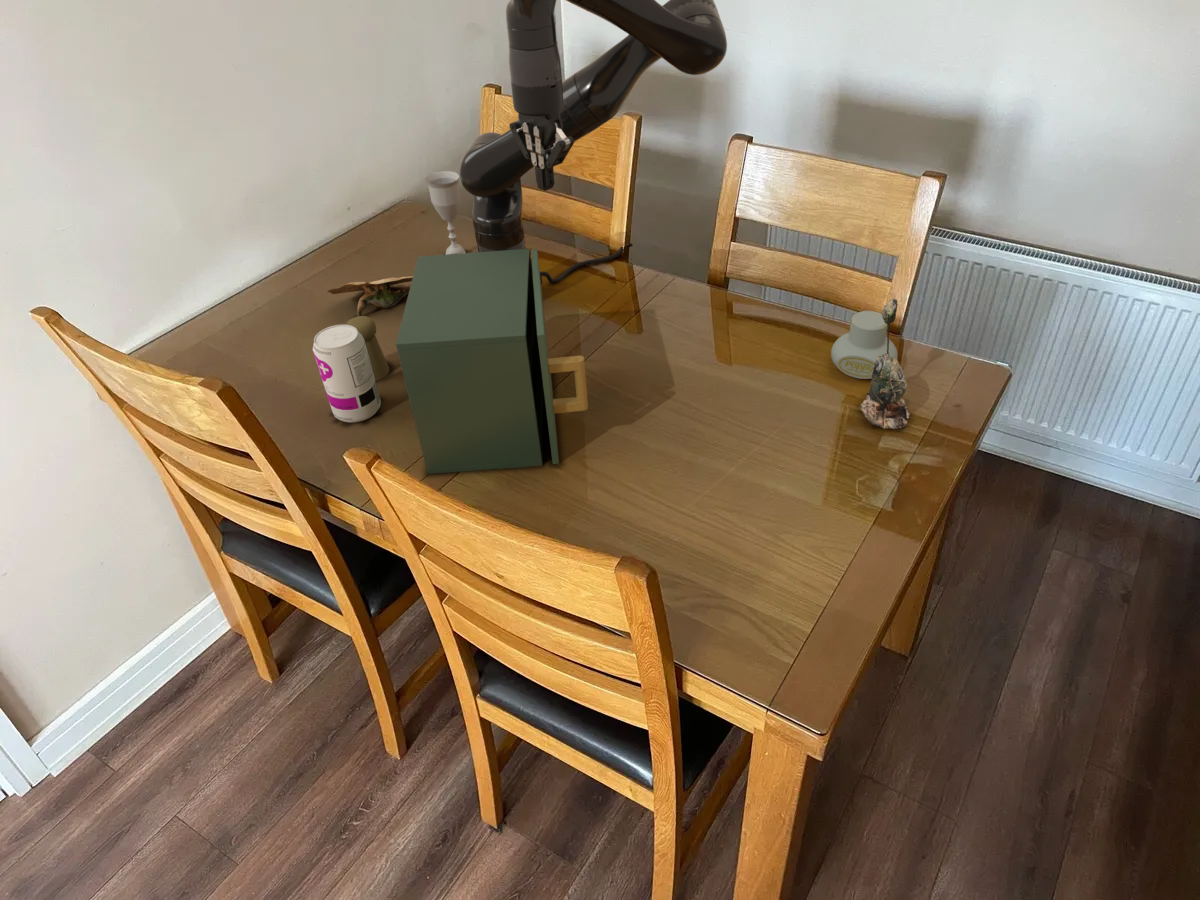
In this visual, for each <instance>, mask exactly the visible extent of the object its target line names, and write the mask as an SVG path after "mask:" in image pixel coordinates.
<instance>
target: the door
mask: <svg viewBox="0 0 1200 900" xmlns="http://www.w3.org/2000/svg"><path fill="white" fill-rule="evenodd" d="M530 257H531V260H532V271H533V285H534V298H535V312H536V326H537V338H538V346H539V355H540V363H541V371H542V379H543V397H544V404H545V413H546V419H547V427H548V429H547V430H548V438H549V444H550V445H549V446H550V453H551V461H552V465H559V464H560V458H559V448H558V437H557V424H556V414H564V413H573V412H585V411H587V410H588V409H589V402H588V389H587V378H586V377H587V376H586V366H585V365H586V364H585V357H584V356H583V355H572V356H571V355H569V356H561V357H550V353H549V345H548V343H549V342H548V334H547V325H546V316H545V315H546V314H545V308H544V297H543V289H542V285H541V279H540V272H541V271H540V263H539V253H538V248H532V249H530ZM567 372H573V374H574V384H575V386H574V387H575V395H576V396H572V397H564V398H563V397H562V398H561V397H560V398H554V393H553V391H554V390H553V382H552V381H553V379H552V374H557V373H567Z"/></svg>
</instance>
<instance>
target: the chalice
mask: <svg viewBox="0 0 1200 900" xmlns="http://www.w3.org/2000/svg"><path fill="white" fill-rule="evenodd" d="M459 180H460V174H459V173H457V172H455V171H451V170H443V171H435V172H432V173H430V174H427V175H426V176H425V177H424V181H425V183H426V184H427V185H428V191H429V196H430V201H431V204H432V205H433V207H434V209H435V210H436V212H437V214H438V215H439V216H440V218H441V219H442V220H443V221H446V222H447V230H448V232H449V235H448V238H449V240H450V244H449V246H448V247H447V248H446V250H445V255H447V254H461V253H467V252H466V250H465V249H464V247H463V246H462V245H461V244H458V243H457V241H456V238H457V234H455V228H456V227H455V226H454V224H453V221H454V220H455V219H456V218H457V215H458V212H459V209H460V205H461V193H460V187H459Z"/></svg>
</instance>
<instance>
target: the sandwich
mask: <svg viewBox="0 0 1200 900" xmlns="http://www.w3.org/2000/svg"><path fill="white" fill-rule="evenodd" d="M412 279H413V275H411V276H402V277H388V278H382V279H378V280H375V281H371V282H369V281H368V282H367V281H351V282H348V283H346V284H344V285H341V286H338V287H334V288H331V289H329V290H327V293H330V294H332V295H338V294H344V293H345V294H346V293H354V292H362V291H363V292H364V294H363V295H362V296H361V297H360V298H359V300H358V303H357V307H356V315H357V317H358V316H362V314H363V311H364V310H365V309H366V308H367V306H368V305H369V304H371V305H374V306H376V307H378V308H382V309H388V308H391V307H394V306H396V304H398V303H399V302H400V301H401V300H402V299H403V298H404V297H405V296H407V295H409V291H410V289H409V290H408V291H407V290H406V289H402V291H401V290H396V291H392V290H391V286H395V285H399V284H404V283H409V282H412ZM381 290H382V291H381Z"/></svg>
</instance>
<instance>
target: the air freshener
mask: <svg viewBox="0 0 1200 900" xmlns="http://www.w3.org/2000/svg"><path fill="white" fill-rule="evenodd" d="M897 349H898V348H897V347H896V346H895V344H894V342H893V341H892V340H891V339H889V350H888V352H889V355H891V356H893V357H895V358H896V359H897V360H898V358H899V357H898V356H899V355H898V350H897ZM885 353H886V354H887V324H886V323H885V322H884V320H883V317H882V313H881V312H878V311H874V310H862V311H859V312H856V313H855V314H854V315H853V316H852V317H851V319H850V327H849V332H847V333H844V334H842V335H841V336H839V337H838V338H837V339H836V341H834V343H833V345H832V347H831V351H830V357H831V360H832V363H833V364H834V366H835V367H836V368H837V369H838V370H839V371H840V372H842V373H843V374H845V375H847V376H849V377H851V378H855V379H861V380H872V373H873V369H874V365H875V363H876V360H877V358H878V356H880V355H884V354H885Z"/></svg>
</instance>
